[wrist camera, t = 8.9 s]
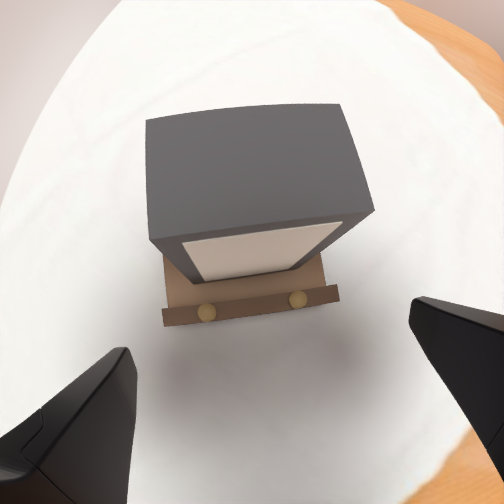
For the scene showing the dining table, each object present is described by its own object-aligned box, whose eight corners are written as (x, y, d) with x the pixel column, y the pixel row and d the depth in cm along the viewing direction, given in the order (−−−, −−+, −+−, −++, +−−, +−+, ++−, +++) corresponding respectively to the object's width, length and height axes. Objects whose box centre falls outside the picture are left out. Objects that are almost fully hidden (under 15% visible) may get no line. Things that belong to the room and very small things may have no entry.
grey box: (296, 270, 19) (375, 212, 9) (193, 285, 19) (149, 241, 8) (285, 209, 20) (339, 103, 9) (186, 222, 19) (145, 118, 9)
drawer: (323, 303, 20) (341, 300, 17) (174, 325, 19) (162, 326, 16) (302, 193, 22) (315, 171, 18) (162, 209, 21) (151, 189, 17)
